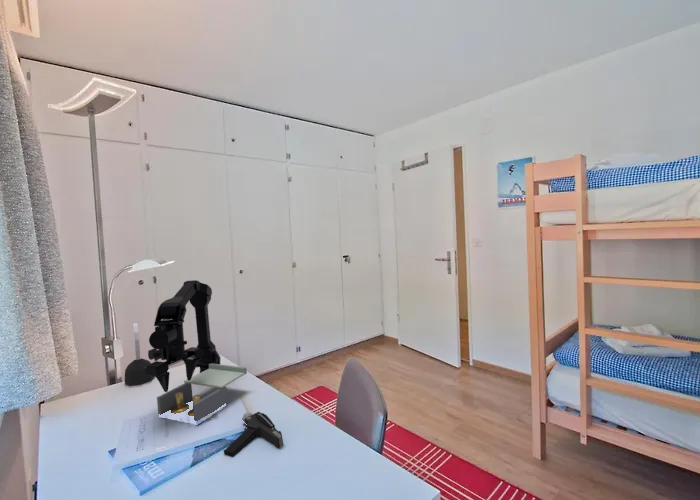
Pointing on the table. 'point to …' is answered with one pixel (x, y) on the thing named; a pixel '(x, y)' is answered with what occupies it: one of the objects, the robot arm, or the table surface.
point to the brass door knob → (179, 404)
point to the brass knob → (195, 399)
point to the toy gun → (255, 433)
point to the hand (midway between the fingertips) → (177, 385)
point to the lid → (218, 375)
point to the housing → (200, 407)
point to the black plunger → (137, 367)
